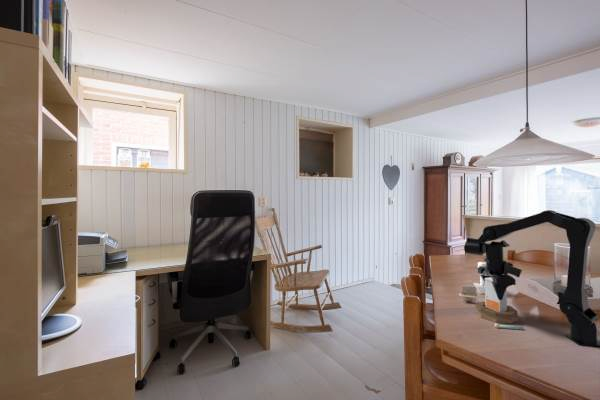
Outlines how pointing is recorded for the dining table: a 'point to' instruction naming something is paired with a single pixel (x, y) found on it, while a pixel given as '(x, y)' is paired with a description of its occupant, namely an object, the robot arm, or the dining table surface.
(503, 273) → the robot arm
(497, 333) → the dining table surface
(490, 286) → the skincare box
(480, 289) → the figurine
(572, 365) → the dining table surface
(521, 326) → the teal thin rod
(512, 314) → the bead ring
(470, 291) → the architectural model
